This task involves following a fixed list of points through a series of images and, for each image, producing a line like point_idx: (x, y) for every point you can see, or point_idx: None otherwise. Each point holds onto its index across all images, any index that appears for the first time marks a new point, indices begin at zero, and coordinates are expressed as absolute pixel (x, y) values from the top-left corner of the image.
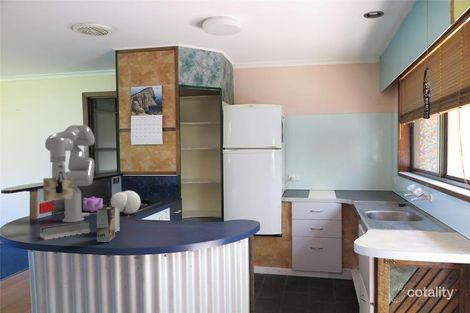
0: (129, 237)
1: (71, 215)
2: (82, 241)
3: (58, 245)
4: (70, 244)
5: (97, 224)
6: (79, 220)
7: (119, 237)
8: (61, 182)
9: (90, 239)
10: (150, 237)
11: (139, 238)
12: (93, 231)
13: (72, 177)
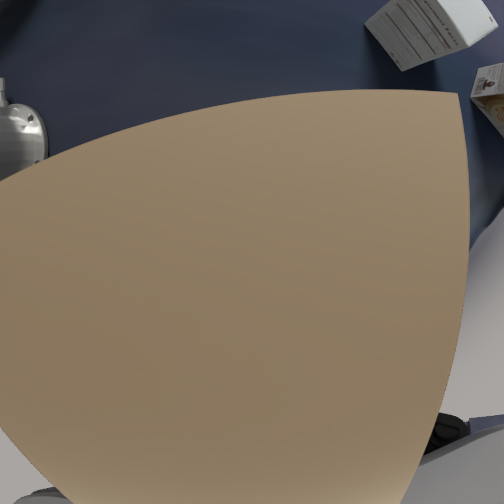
0: (485, 37)
1: (18, 164)
2: (473, 168)
3: (471, 245)
4: (481, 210)
5: None
6: (42, 123)
7: (477, 56)
8: (470, 424)
9: (465, 137)
10: (496, 7)
11: (499, 29)
12: (348, 80)
13: (440, 106)
